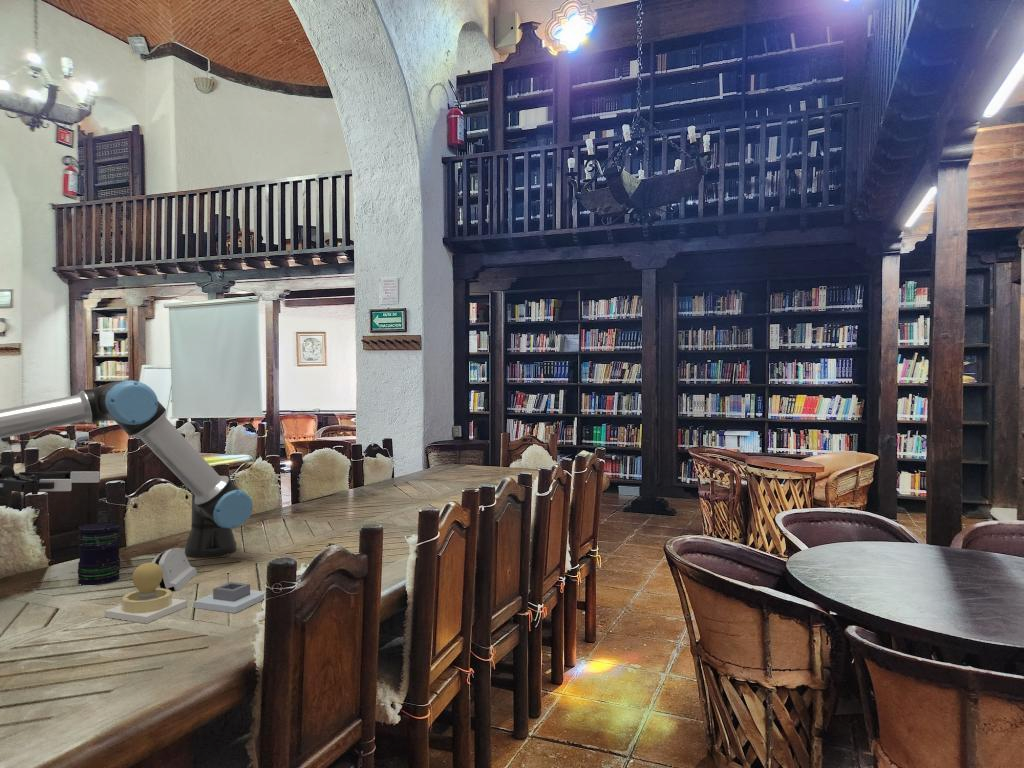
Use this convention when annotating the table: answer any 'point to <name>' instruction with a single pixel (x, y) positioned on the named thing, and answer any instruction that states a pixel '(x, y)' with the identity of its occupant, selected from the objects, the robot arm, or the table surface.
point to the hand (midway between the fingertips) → (85, 480)
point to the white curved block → (174, 568)
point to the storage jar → (99, 553)
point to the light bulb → (147, 580)
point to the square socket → (230, 598)
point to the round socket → (146, 607)
